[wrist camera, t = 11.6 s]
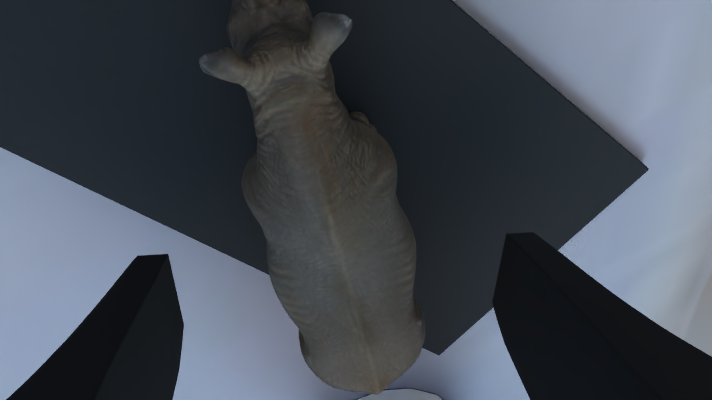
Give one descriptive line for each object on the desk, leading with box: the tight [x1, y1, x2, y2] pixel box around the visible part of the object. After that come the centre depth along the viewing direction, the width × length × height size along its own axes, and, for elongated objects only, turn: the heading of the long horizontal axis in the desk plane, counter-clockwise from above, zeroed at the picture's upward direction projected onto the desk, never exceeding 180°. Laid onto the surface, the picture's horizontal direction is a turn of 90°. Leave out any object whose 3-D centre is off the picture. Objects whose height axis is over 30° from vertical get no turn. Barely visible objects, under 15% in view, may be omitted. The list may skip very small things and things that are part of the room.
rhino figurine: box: [199, 0, 425, 395], centre depth 15 cm, size 4×14×6 cm, turn 12°
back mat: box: [0, 0, 648, 355], centre depth 18 cm, size 20×11×1 cm, turn 52°
